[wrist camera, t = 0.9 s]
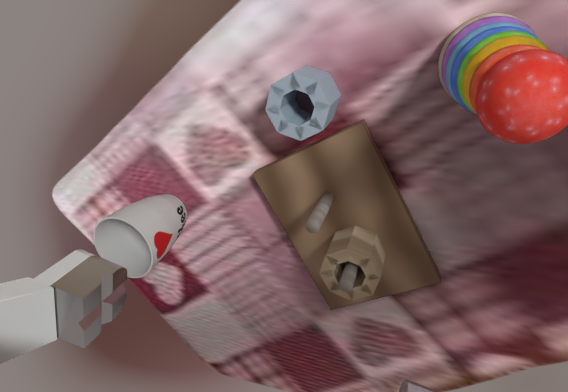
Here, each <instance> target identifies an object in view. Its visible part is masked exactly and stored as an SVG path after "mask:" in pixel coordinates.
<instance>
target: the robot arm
mask: <svg viewBox="0 0 568 392" xmlns="http://www.w3.org/2000/svg"><path fill="white" fill-rule="evenodd" d="M126 279H127V269H126V268H124V267H122V266H120V265H118V264H115V263H113V262H111V261H108V260H106V259H104V258H101V257H99V256H97V255H93V254H91V253H89V252H86V251H84V250H82V249H80V250H75V251H74V252H72V253H71V254H69V255H68V256H66V257H65V258H63V259H62V260H60V261H59V262H57V263H56V264H55V265H53V266H52V267H50V268H49V269H47V270H46V271H44V272H43V273H41V274H40V275H38V276H37V277H35V278H34V279H32V278H29V277H28V278H23V279H18V280H14V281H10V282H5V283H1V284H0V364H1V363H3V362H6V361H8V360H10V359H13V358H15V357H17V356H20V355H22V354H24V353H27V352H29V351H32V350H34V349H36V348H38V347H41V346H43V345H45V344H48V343H50V342H53V341H55V340H57V338H59V339H62V340H64V341H67V342H69V343H72V344H74V345H76V346H79V347H81V348H85V347H86V346H88V344H90V343H91V341H93V340H94V339H95V337H97V336H98V335H99V334H100V333H101V328H102V324H105V323H108V322H111V321H113V320H114V319H115V317H117V316H118V314H119V313H120V311H121V310H122V308H123V306H124V304H125V301H126V297H127V290H126V288H125V286H124V285H123V282H124V281H125V280H126ZM399 392H439V391H436V390H434V389H431V388H428V387H426V386H423V385H421V384H418V383H415V382H413V381H410V380H408V379H405V380H404V381H403V383H402V385H401V387H400V390H399Z"/></svg>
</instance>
